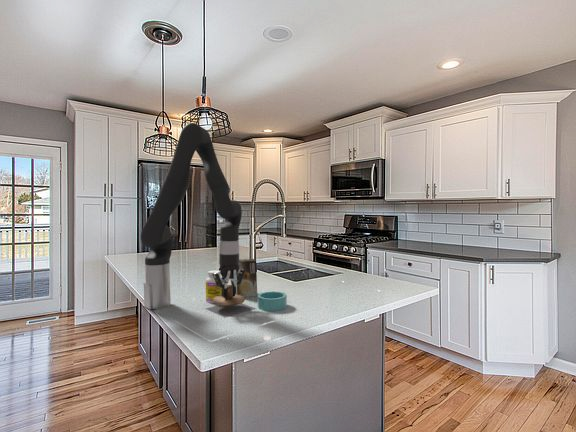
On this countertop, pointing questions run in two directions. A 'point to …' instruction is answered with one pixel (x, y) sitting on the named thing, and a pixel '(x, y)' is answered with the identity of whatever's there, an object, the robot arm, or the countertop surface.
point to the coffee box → (247, 278)
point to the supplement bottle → (212, 287)
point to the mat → (230, 309)
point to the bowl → (272, 301)
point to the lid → (229, 298)
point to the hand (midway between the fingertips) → (229, 296)
